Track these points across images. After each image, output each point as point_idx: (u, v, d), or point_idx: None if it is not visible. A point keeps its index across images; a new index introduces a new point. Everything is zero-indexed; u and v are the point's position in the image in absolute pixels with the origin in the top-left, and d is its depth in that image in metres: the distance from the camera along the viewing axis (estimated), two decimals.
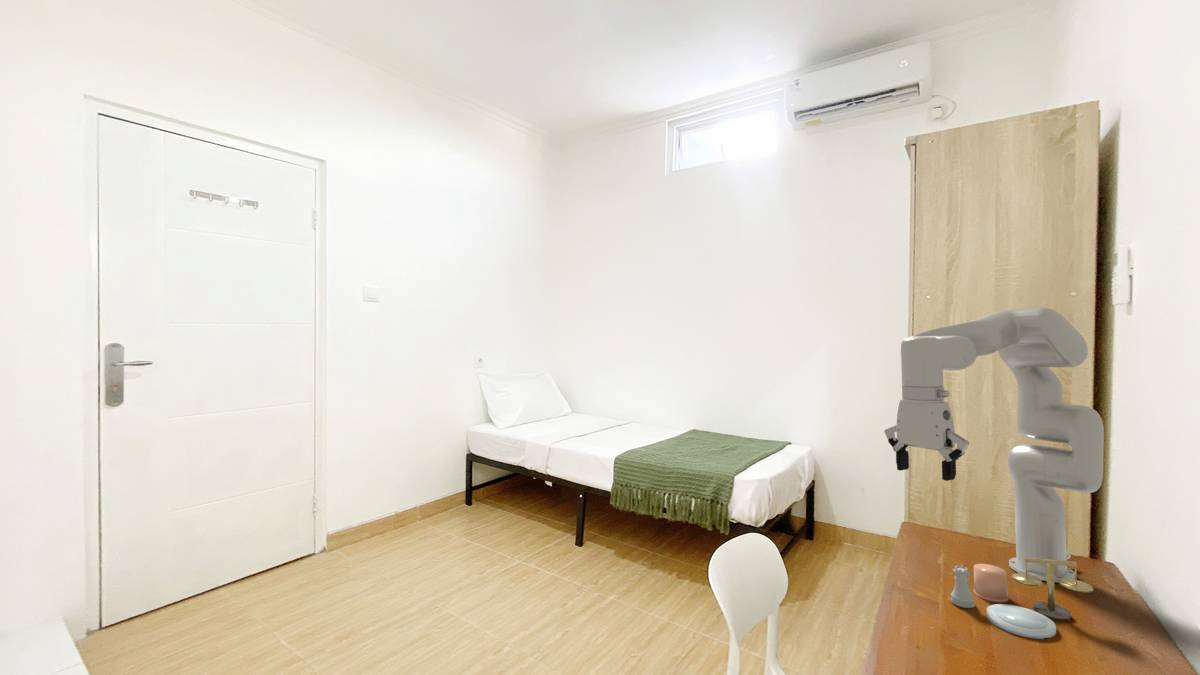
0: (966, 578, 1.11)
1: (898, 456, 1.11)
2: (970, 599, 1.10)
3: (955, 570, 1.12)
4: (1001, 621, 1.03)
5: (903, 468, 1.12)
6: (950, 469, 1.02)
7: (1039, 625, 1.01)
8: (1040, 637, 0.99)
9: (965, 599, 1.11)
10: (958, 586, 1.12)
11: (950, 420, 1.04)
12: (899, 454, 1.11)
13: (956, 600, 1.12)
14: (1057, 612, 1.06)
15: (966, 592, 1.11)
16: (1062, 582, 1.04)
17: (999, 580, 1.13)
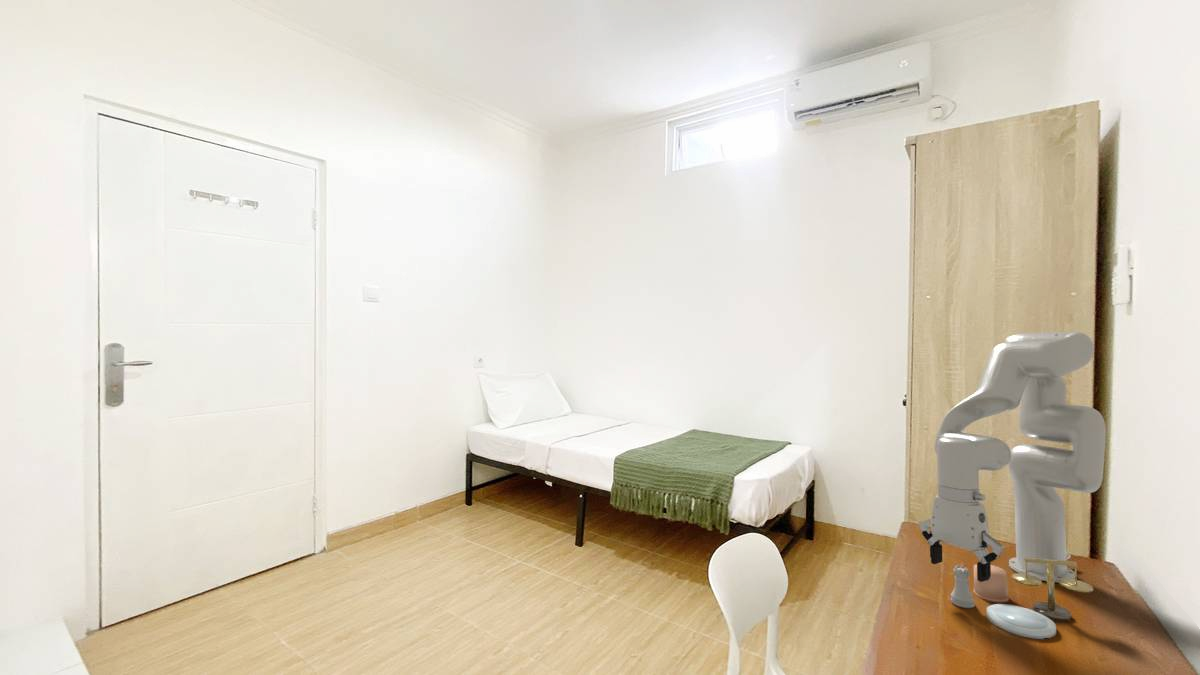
0: (966, 578, 1.11)
1: (932, 550, 1.16)
2: (970, 599, 1.10)
3: (955, 570, 1.12)
4: (1001, 621, 1.03)
5: (937, 562, 1.16)
6: (985, 571, 1.07)
7: (1039, 625, 1.01)
8: (1040, 637, 0.99)
9: (965, 599, 1.11)
10: (958, 586, 1.12)
11: (985, 522, 1.08)
12: (933, 548, 1.16)
13: (956, 600, 1.12)
14: (1057, 612, 1.06)
15: (966, 592, 1.11)
16: (1062, 582, 1.04)
17: (999, 580, 1.13)
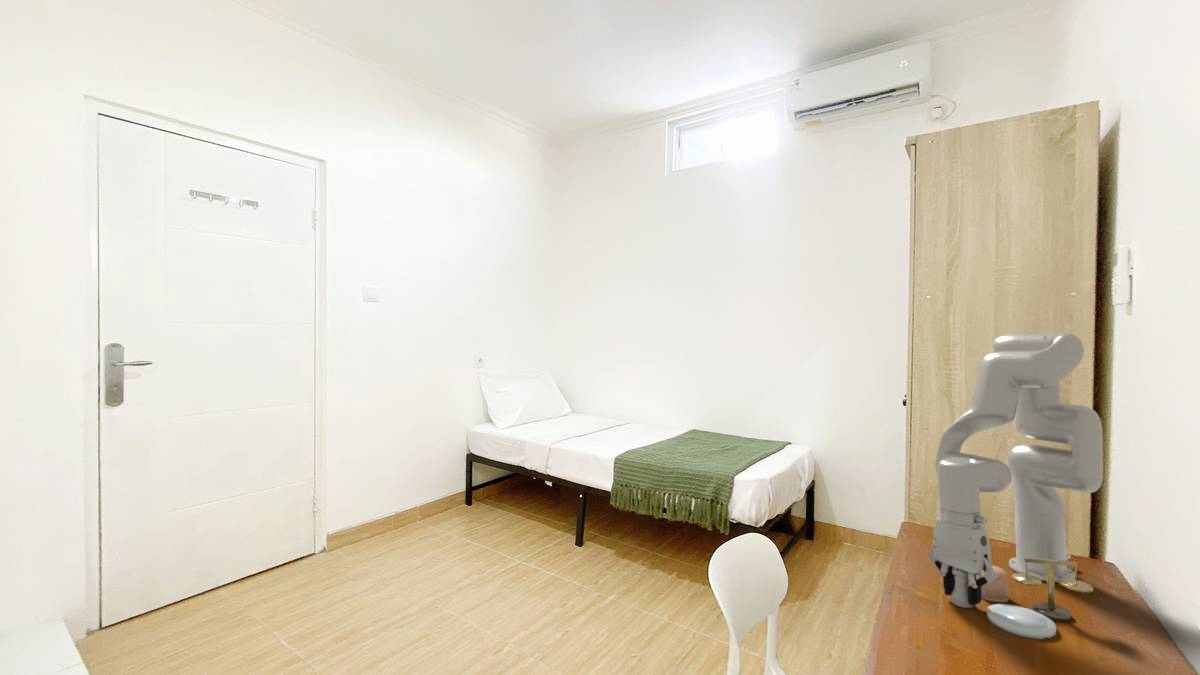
0: (966, 578, 1.11)
1: (946, 581, 1.14)
2: None
3: (955, 570, 1.12)
4: (1001, 621, 1.03)
5: None
6: (976, 595, 1.09)
7: (1039, 625, 1.01)
8: (1040, 637, 0.99)
9: (965, 598, 1.11)
10: (958, 586, 1.12)
11: (987, 545, 1.08)
12: (947, 579, 1.14)
13: (956, 600, 1.12)
14: (1057, 612, 1.06)
15: (966, 592, 1.11)
16: (1062, 582, 1.04)
17: (999, 580, 1.13)
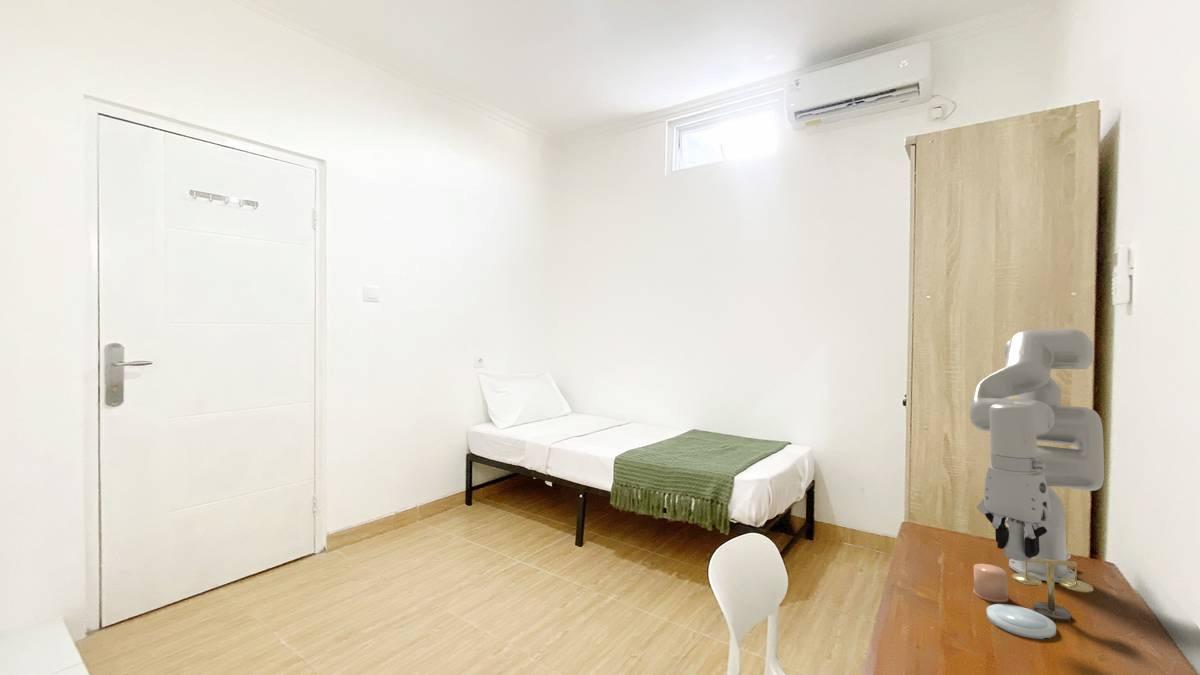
0: (1022, 529, 1.03)
1: (999, 534, 1.06)
2: None
3: (1009, 521, 1.04)
4: (1001, 621, 1.03)
5: (1004, 546, 1.06)
6: (1034, 546, 1.01)
7: (1039, 625, 1.01)
8: (1040, 637, 0.99)
9: (1020, 551, 1.03)
10: (1013, 538, 1.04)
11: (1046, 493, 1.00)
12: (1000, 532, 1.06)
13: (1011, 553, 1.04)
14: (1057, 612, 1.06)
15: (1022, 544, 1.03)
16: (1062, 582, 1.04)
17: (999, 580, 1.13)
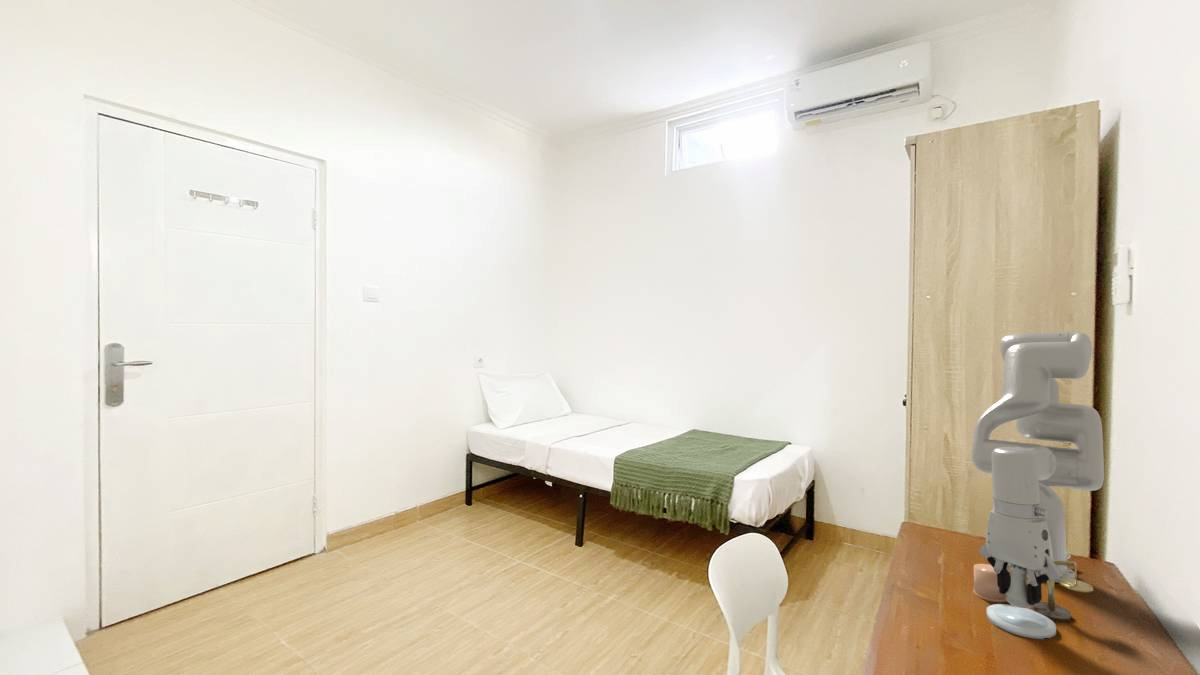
0: (1024, 575, 1.03)
1: (1001, 579, 1.06)
2: None
3: (1011, 567, 1.04)
4: (1001, 621, 1.03)
5: (1006, 591, 1.06)
6: (1036, 594, 1.01)
7: (1039, 625, 1.01)
8: (1040, 637, 0.99)
9: (1022, 597, 1.02)
10: (1015, 584, 1.03)
11: (1048, 540, 1.00)
12: (1002, 577, 1.05)
13: (1013, 599, 1.03)
14: (1057, 612, 1.06)
15: (1024, 590, 1.03)
16: (1062, 582, 1.04)
17: None
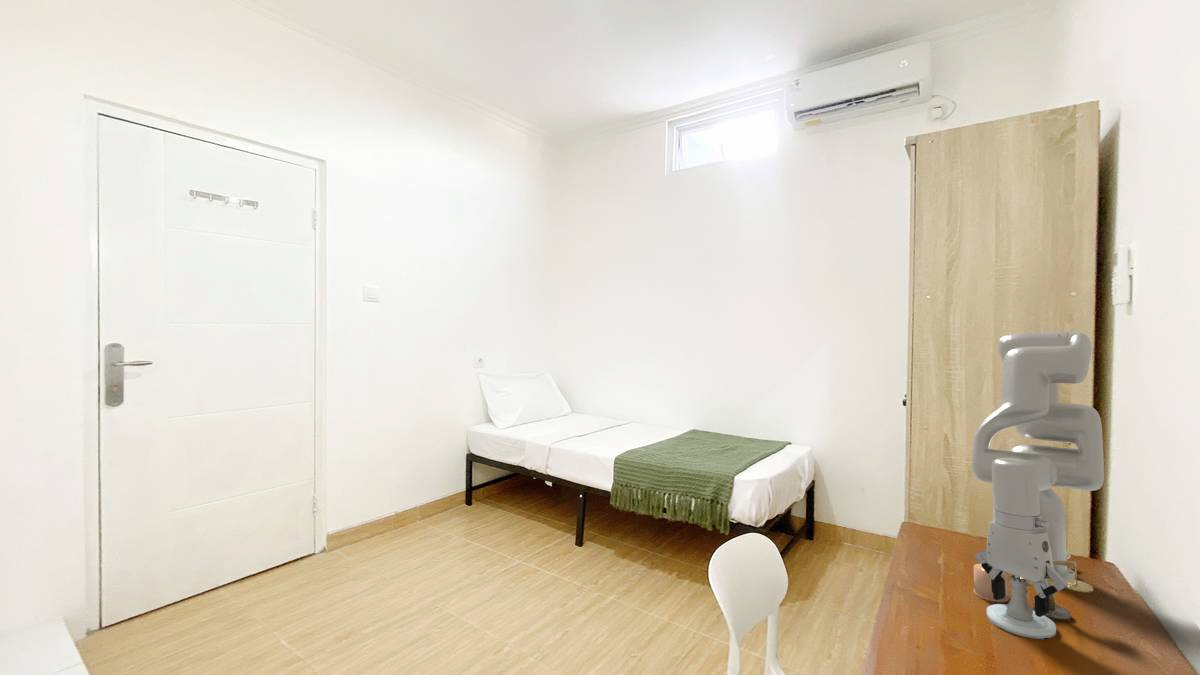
0: (1024, 589, 1.03)
1: (995, 585, 1.07)
2: (1029, 611, 1.02)
3: (1012, 580, 1.04)
4: (1001, 621, 1.03)
5: (1000, 597, 1.07)
6: (1044, 605, 1.00)
7: (1039, 625, 1.01)
8: (1040, 637, 0.99)
9: (1023, 611, 1.03)
10: (1015, 597, 1.04)
11: (1049, 551, 1.00)
12: (996, 583, 1.07)
13: (1013, 612, 1.03)
14: (1057, 612, 1.06)
15: (1025, 603, 1.03)
16: None
17: None
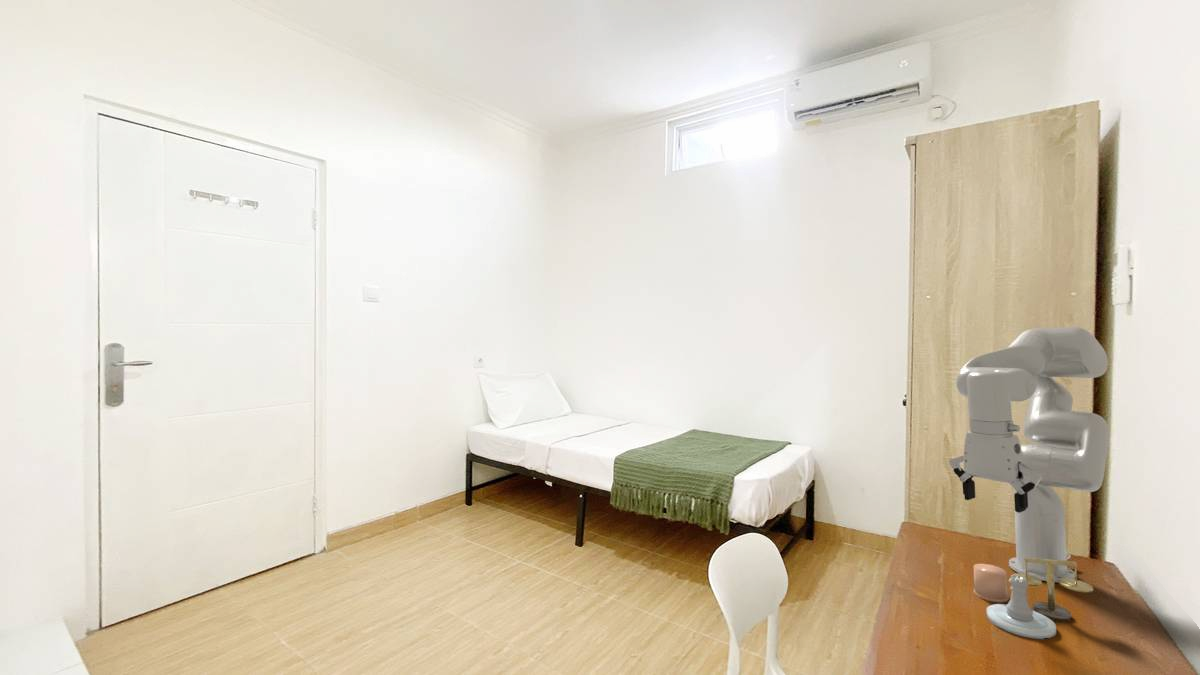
0: (1024, 589, 1.03)
1: (966, 486, 1.15)
2: (1029, 612, 1.02)
3: (1012, 580, 1.04)
4: (1001, 621, 1.03)
5: (970, 498, 1.15)
6: (1023, 501, 1.06)
7: (1039, 625, 1.01)
8: (1040, 637, 0.99)
9: (1023, 611, 1.03)
10: (1015, 597, 1.04)
11: (1020, 453, 1.07)
12: (967, 484, 1.14)
13: (1013, 612, 1.03)
14: (1057, 612, 1.06)
15: (1025, 603, 1.03)
16: (1062, 582, 1.04)
17: (999, 580, 1.13)
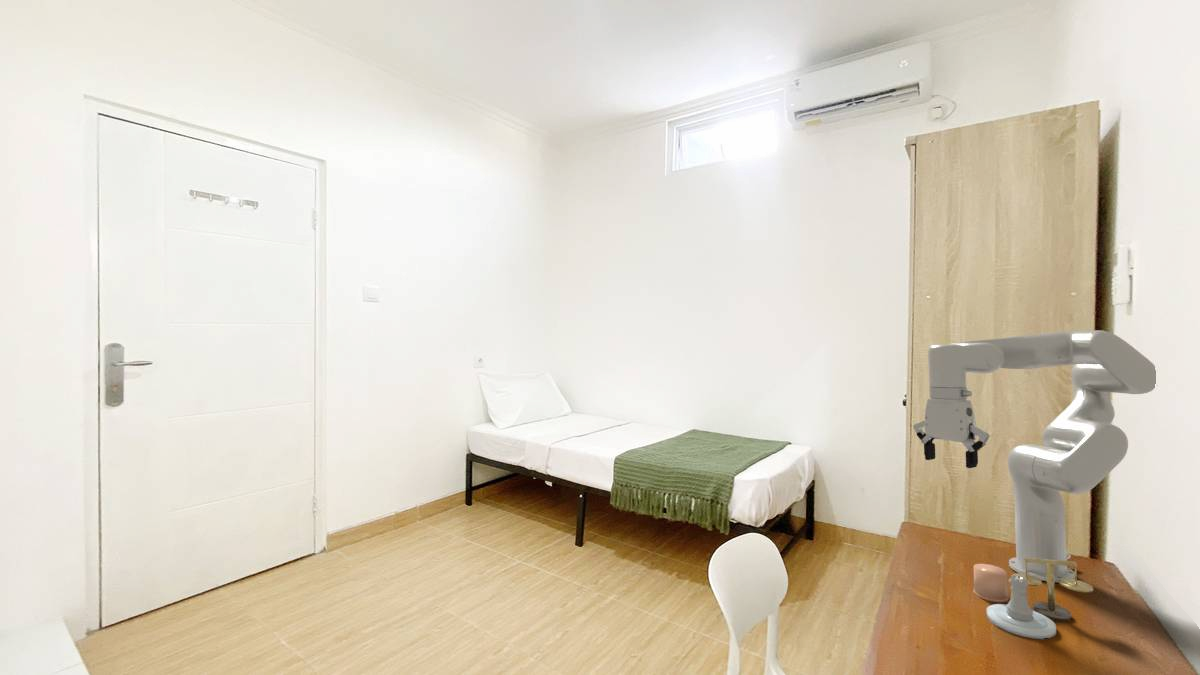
0: (1024, 589, 1.03)
1: (926, 448, 1.28)
2: (1029, 612, 1.02)
3: (1012, 580, 1.04)
4: (1001, 621, 1.03)
5: (930, 458, 1.28)
6: (973, 458, 1.19)
7: (1039, 625, 1.01)
8: (1040, 637, 0.99)
9: (1023, 611, 1.03)
10: (1015, 597, 1.04)
11: (972, 416, 1.21)
12: (927, 446, 1.28)
13: (1013, 612, 1.03)
14: (1057, 612, 1.06)
15: (1025, 603, 1.03)
16: (1062, 582, 1.04)
17: (999, 580, 1.13)
